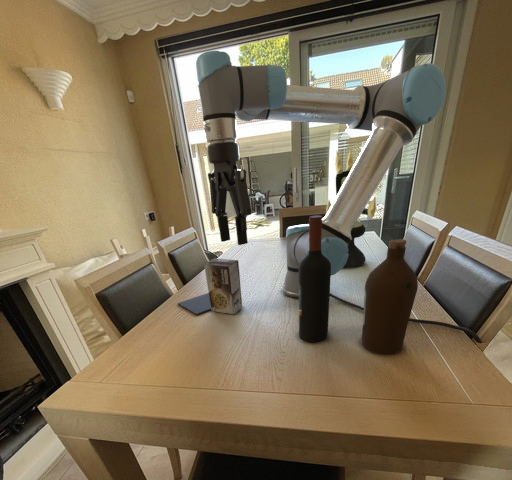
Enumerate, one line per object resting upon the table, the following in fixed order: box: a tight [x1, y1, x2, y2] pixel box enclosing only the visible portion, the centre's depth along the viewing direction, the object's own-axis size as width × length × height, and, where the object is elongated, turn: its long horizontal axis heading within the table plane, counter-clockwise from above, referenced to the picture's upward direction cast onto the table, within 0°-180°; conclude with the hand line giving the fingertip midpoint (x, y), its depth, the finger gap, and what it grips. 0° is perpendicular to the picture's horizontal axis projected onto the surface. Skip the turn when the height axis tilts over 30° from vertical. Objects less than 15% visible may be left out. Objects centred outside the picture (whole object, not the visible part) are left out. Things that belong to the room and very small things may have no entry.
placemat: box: [177, 292, 211, 316], centre depth 105 cm, size 14×17×1 cm
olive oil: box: [361, 238, 419, 355], centre depth 66 cm, size 11×11×25 cm
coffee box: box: [203, 257, 243, 315], centre depth 94 cm, size 9×6×16 cm
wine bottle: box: [298, 215, 332, 344], centre depth 71 cm, size 8×8×30 cm
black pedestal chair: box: [325, 148, 377, 269], centre depth 122 cm, size 19×22×45 cm
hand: (233, 242), depth 80 cm, fingers open, 8 cm apart
